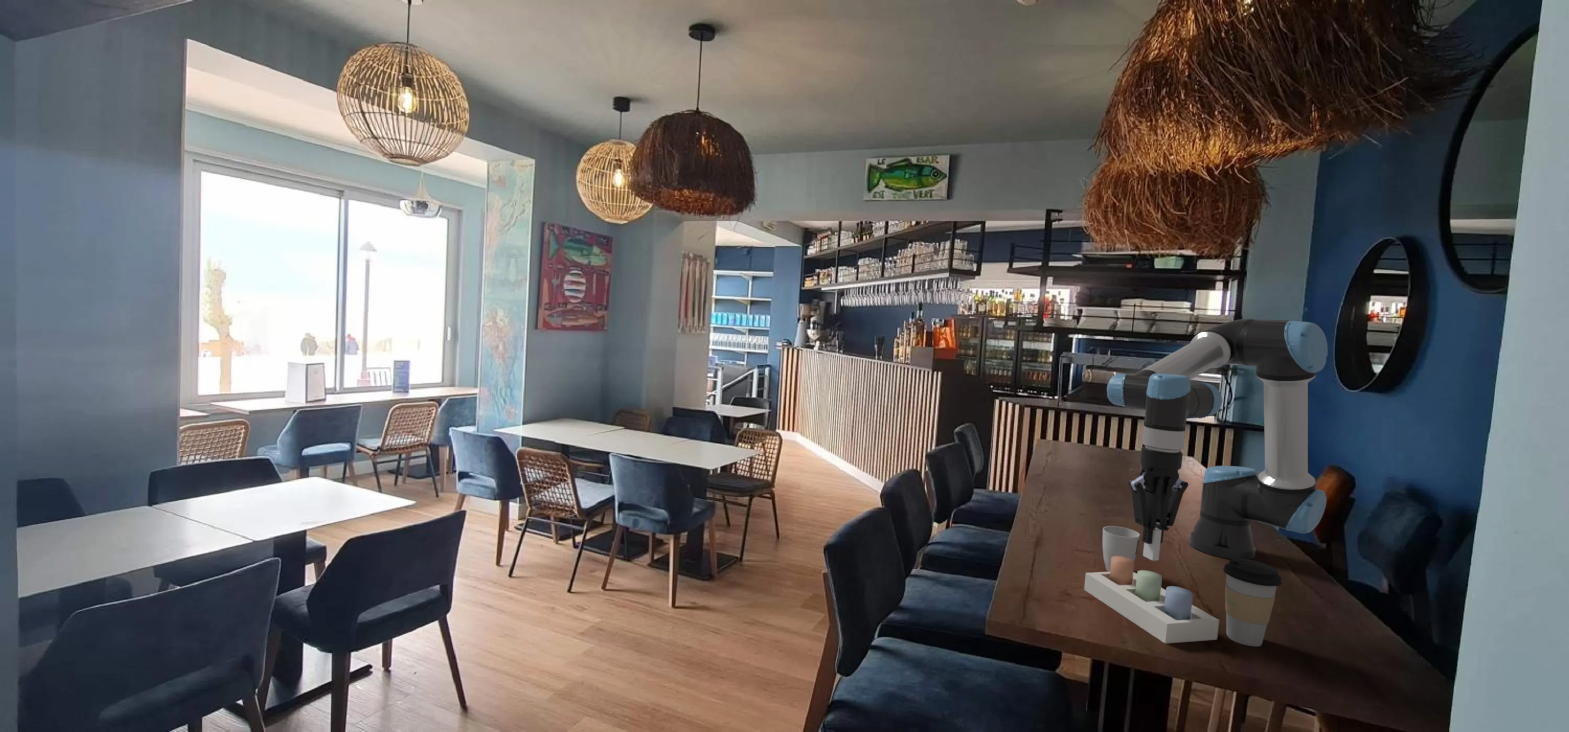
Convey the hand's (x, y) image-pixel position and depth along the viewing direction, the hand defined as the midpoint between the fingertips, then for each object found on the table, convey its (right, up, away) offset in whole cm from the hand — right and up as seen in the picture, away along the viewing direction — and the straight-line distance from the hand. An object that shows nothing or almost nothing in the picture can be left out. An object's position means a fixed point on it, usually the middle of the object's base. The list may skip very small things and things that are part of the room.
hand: (1150, 557), depth 140 cm
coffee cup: (+14, -14, -9) cm, 21 cm away
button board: (0, -12, +1) cm, 12 cm away
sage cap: (0, -9, +1) cm, 9 cm away
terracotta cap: (-2, -8, +9) cm, 12 cm away
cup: (+5, -10, +24) cm, 26 cm away
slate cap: (+1, -9, -7) cm, 12 cm away
